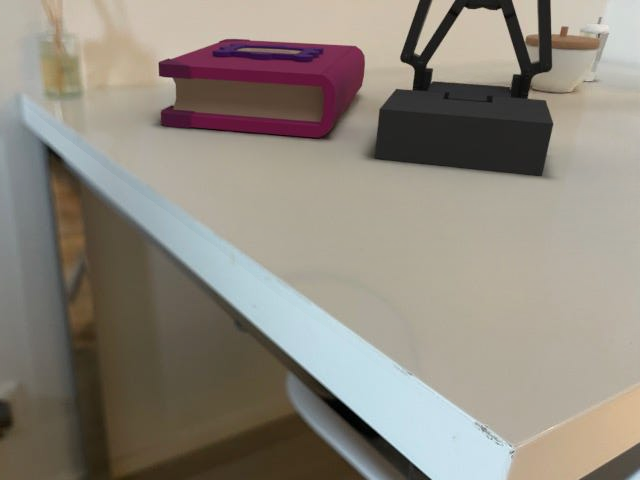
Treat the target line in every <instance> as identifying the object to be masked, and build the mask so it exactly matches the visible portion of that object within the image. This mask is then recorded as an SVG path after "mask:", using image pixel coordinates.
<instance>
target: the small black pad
mask: <svg viewBox="0 0 640 480" xmlns="http://www.w3.org/2000/svg"><path fill="white" fill-rule="evenodd" d="M510 90H511V86H504V85H490V84H475V83H463V82H449V81H436V80H433V81H431V85H430V87H429V89H428V90H427V91H431V92H444V93H445V99H450V100H463V101H476V102H489V103H491V101H492V97H493V96H497V97H511V91H510Z"/></svg>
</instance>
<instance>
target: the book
mask: <svg viewBox="0 0 640 480" xmlns="http://www.w3.org/2000/svg"><path fill="white" fill-rule="evenodd" d="M365 65H366V57H365V54H364V52H363V51H362V49H361V48H359V47H358V46H357V45H347V44H328V43H327V44H326V43H307V42H305V43H304V42H289V41H288V42H287V41H269V40H266V41H265V40H251V39H244V38H225V39H221V40H219V41H218V42H216V43H213V44H210V45H207V46H205V47H202V48H198V49H196V50H193V51H190V52H188V53H184V54H182V55H178V56H175V57H173V58H166V59H163V60H160V61H158V77H160V78H161V77H162V78H167V79H172V80H173V82H174V84H175V101H174V104H171V105H169V106H167V107H165V108H163V109H161V110H160V123H161V124H160V125H161V126H163V127H164V126H165V127H171V128H183V129H191V128H199V129H211V130H222V131H233V132H234V131H235V132H245V133H246V132H247V133H260V134H268V135H269V134H272V135H281V136H282V135H283V136H294V137H306V138H321V137H323V136H325V135H327V134H328V132H330V130H331V129H332V128H333V126H334V125H335V124H336V122H337V121H338V120H339V118H340V117H341V115H342V114H343V112H344V111H345V110H346V109H347V107H348V106H349V104H350V103H352V101H353V99H354V98H355V97H356V95H357V94H358V92H359V91H360V89H362V87H363V83H364V78H365V70H366V69H365V68H366V67H365Z"/></svg>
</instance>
